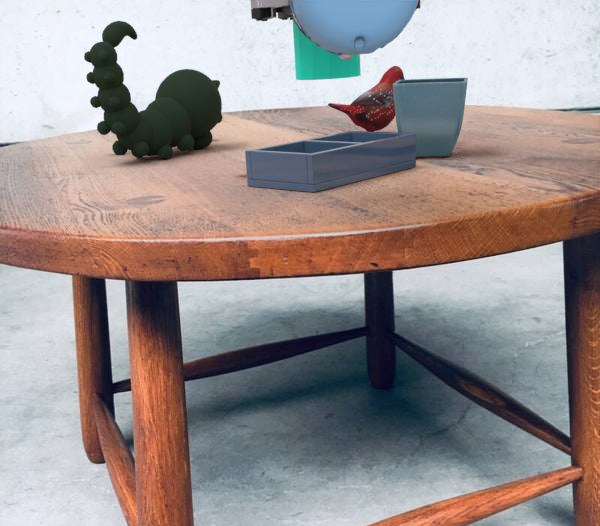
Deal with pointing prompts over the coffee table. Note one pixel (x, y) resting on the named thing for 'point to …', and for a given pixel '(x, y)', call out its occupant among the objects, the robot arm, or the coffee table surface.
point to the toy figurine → (152, 104)
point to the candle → (320, 61)
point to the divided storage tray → (330, 160)
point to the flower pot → (431, 112)
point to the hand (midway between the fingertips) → (325, 2)
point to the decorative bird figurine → (374, 103)
